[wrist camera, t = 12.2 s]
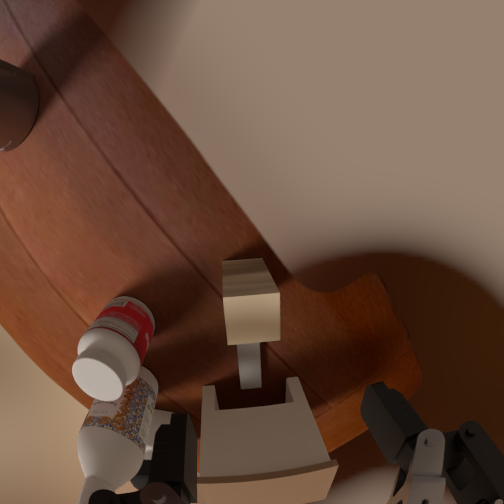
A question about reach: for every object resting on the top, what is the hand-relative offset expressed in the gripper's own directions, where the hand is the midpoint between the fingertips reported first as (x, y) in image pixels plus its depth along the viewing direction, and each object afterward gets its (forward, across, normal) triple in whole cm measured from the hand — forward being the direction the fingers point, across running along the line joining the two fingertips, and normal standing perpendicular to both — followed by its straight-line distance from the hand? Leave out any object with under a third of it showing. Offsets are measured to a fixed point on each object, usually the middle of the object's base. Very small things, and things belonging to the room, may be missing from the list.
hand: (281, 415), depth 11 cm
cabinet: (+18, 0, +19) cm, 26 cm away
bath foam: (+19, +15, +14) cm, 28 cm away
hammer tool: (+19, 0, +7) cm, 20 cm away
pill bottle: (+19, +13, +4) cm, 23 cm away
